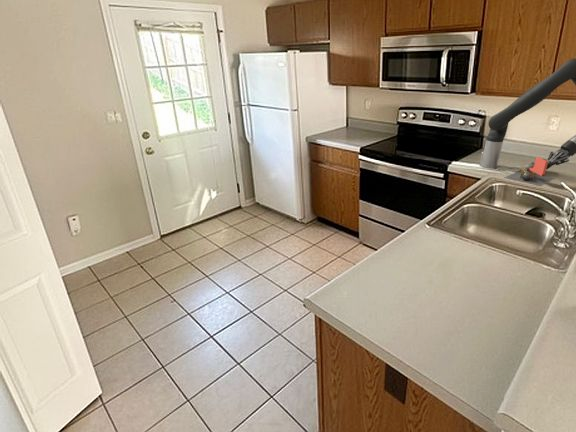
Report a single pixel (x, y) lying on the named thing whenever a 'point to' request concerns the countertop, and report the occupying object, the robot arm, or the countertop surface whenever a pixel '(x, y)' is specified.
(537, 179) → the mat
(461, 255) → the countertop surface
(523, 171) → the valve body
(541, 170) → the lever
